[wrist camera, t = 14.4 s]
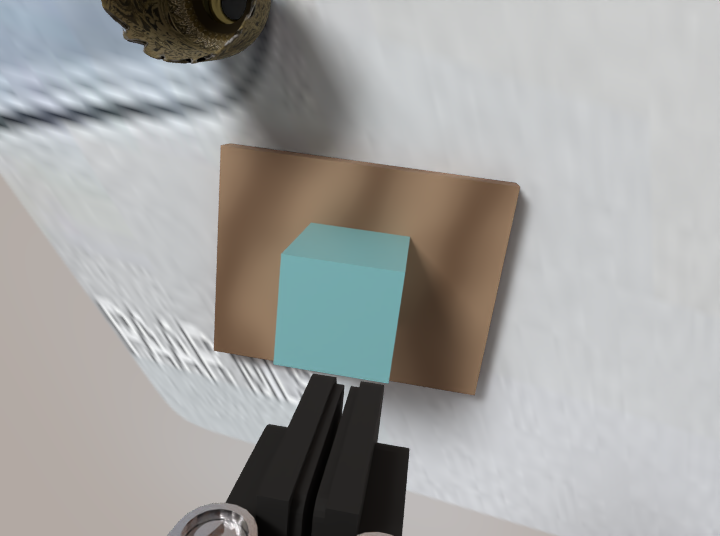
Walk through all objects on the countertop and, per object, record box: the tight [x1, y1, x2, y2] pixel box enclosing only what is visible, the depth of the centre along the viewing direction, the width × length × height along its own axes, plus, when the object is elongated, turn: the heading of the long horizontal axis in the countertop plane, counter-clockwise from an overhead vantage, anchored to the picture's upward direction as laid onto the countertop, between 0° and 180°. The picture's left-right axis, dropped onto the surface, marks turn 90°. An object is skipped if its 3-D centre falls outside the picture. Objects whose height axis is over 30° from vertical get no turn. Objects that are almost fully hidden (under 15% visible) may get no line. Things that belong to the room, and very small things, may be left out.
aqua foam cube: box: [273, 223, 410, 383], centre depth 30 cm, size 6×6×7 cm
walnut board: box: [214, 144, 520, 395], centre depth 34 cm, size 18×14×2 cm
